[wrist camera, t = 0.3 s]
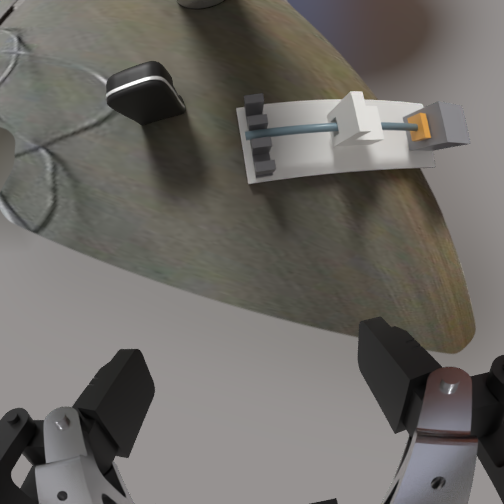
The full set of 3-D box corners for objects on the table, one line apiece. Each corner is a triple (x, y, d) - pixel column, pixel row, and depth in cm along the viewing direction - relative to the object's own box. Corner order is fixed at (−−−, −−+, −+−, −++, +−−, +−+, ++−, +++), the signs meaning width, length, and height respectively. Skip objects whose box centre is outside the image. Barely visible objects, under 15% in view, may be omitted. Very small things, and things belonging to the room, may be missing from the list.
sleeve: (326, 115, 28) (350, 91, 20) (363, 114, 28) (395, 93, 20) (332, 146, 29) (359, 131, 21) (369, 145, 29) (404, 131, 21)
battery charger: (184, 89, 31) (159, 52, 20) (187, 113, 32) (161, 81, 21) (137, 103, 31) (99, 74, 20) (139, 126, 32) (99, 103, 21)
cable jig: (236, 111, 32) (231, 79, 22) (417, 106, 31) (457, 88, 21) (248, 184, 34) (247, 178, 24) (429, 167, 33) (474, 163, 23)
